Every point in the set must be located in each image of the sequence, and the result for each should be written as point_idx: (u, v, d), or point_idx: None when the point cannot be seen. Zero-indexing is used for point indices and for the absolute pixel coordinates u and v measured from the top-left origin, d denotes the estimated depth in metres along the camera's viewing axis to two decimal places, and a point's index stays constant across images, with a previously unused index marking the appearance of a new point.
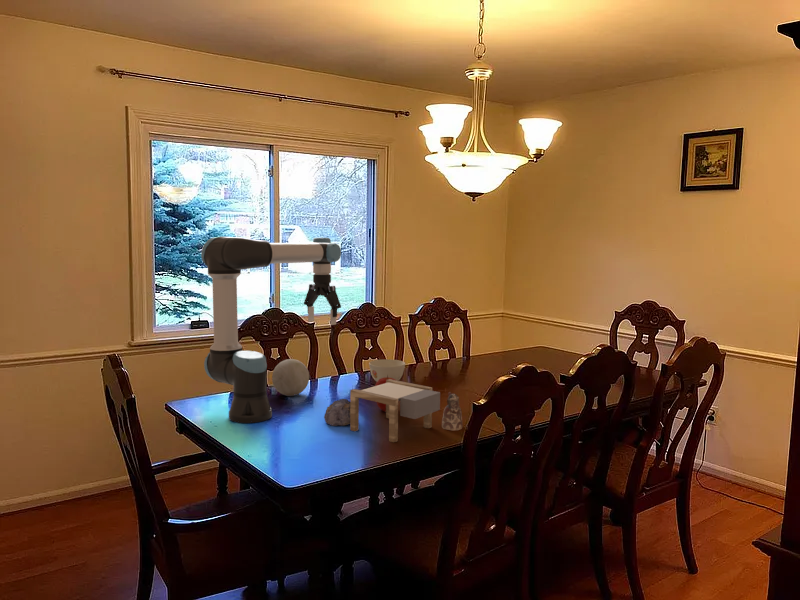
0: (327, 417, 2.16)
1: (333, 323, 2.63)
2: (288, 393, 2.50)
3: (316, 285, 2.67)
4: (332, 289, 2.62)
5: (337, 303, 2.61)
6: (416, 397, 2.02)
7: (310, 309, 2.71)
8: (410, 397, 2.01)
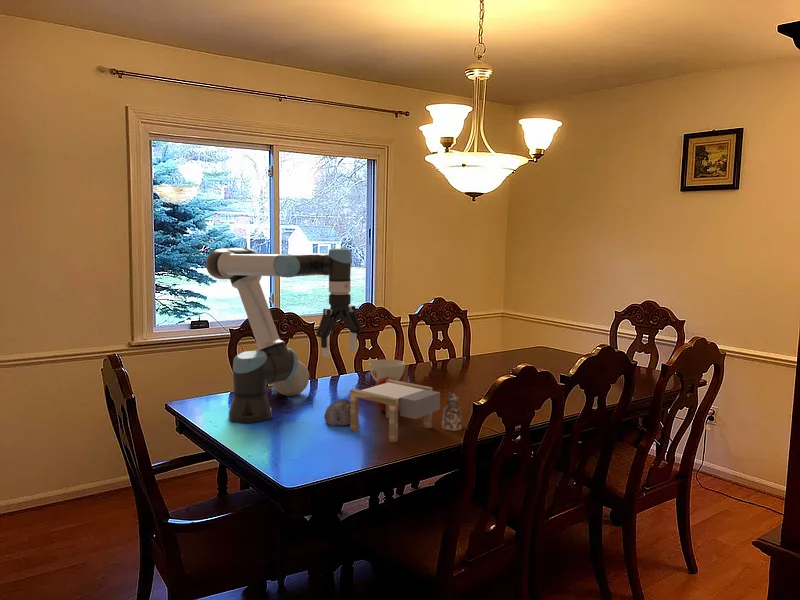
0: (327, 417, 2.16)
1: (324, 355, 2.11)
2: (288, 393, 2.50)
3: None
4: (324, 312, 2.10)
5: (319, 330, 2.09)
6: (416, 397, 2.02)
7: (350, 336, 2.22)
8: (410, 397, 2.01)
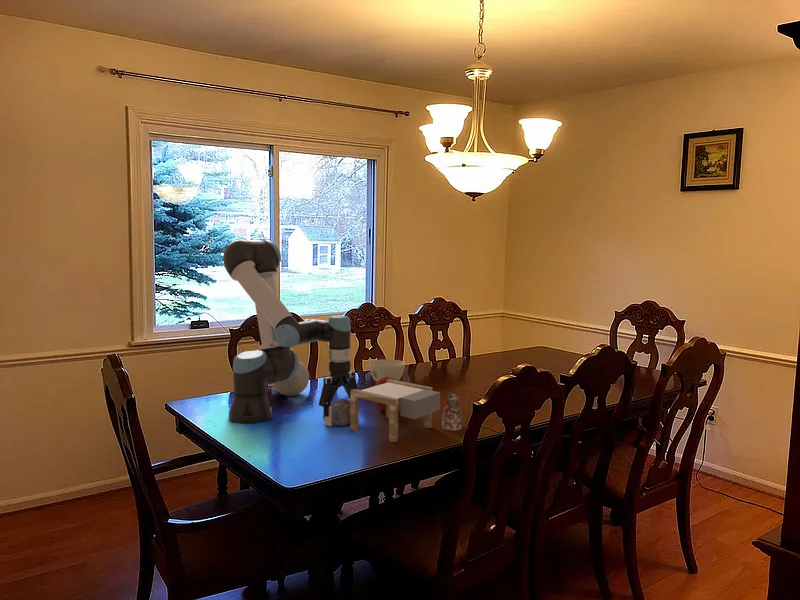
0: None
1: (326, 423, 2.15)
2: (288, 393, 2.50)
3: None
4: (324, 382, 2.13)
5: (321, 400, 2.12)
6: (416, 397, 2.02)
7: None
8: (410, 397, 2.01)
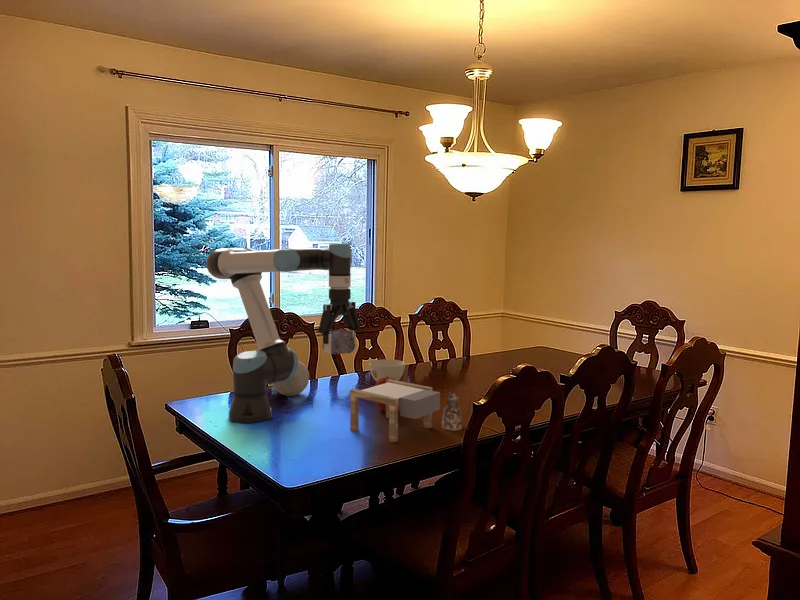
0: None
1: (326, 351, 2.12)
2: (288, 393, 2.50)
3: None
4: (324, 308, 2.10)
5: (321, 327, 2.09)
6: (416, 397, 2.02)
7: None
8: (410, 397, 2.01)
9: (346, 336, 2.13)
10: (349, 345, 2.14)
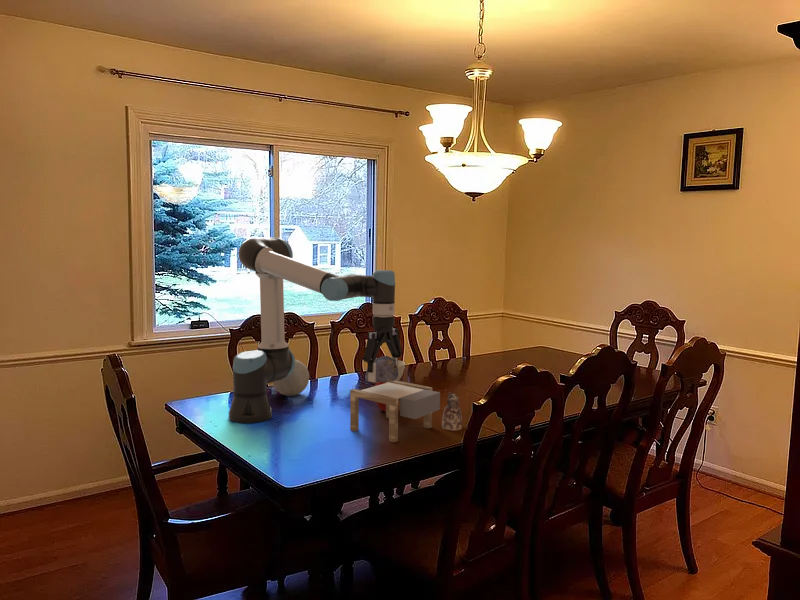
0: None
1: (370, 380, 2.10)
2: (288, 393, 2.50)
3: None
4: (368, 337, 2.08)
5: (365, 355, 2.07)
6: (416, 397, 2.02)
7: None
8: (410, 397, 2.01)
9: (390, 364, 2.11)
10: (393, 373, 2.12)
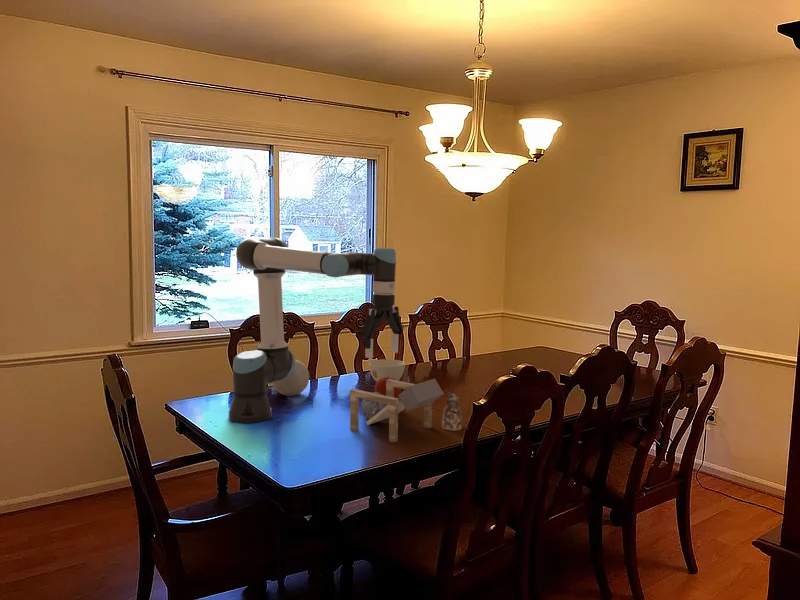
0: (365, 410, 2.16)
1: (367, 356, 2.08)
2: (288, 393, 2.50)
3: None
4: (368, 313, 2.07)
5: (363, 331, 2.05)
6: None
7: (392, 337, 2.19)
8: None
9: None
10: None
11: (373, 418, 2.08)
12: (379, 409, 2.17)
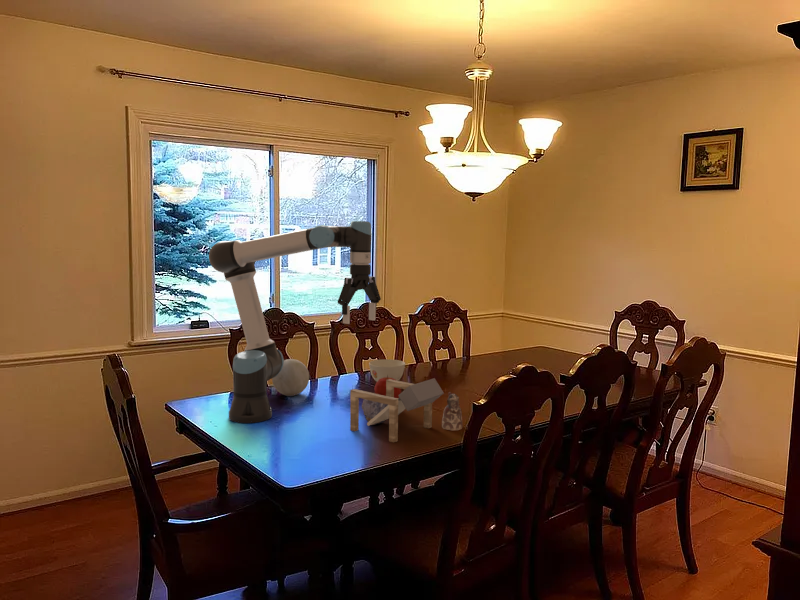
0: (366, 413, 2.15)
1: (344, 322, 2.23)
2: (288, 393, 2.50)
3: None
4: (345, 281, 2.21)
5: (340, 298, 2.20)
6: None
7: (370, 305, 2.33)
8: None
9: None
10: None
11: (373, 419, 2.08)
12: None
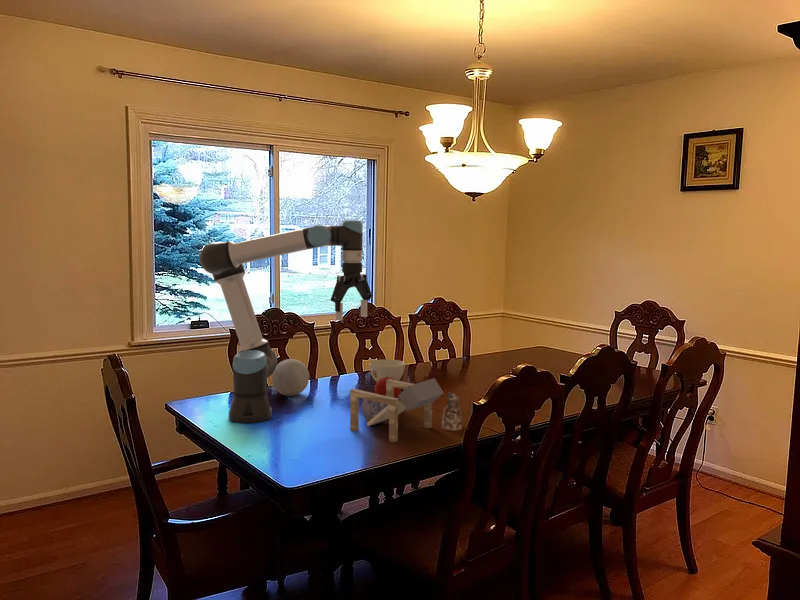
0: (366, 413, 2.15)
1: (338, 318, 2.28)
2: (288, 393, 2.50)
3: None
4: (338, 279, 2.27)
5: (333, 295, 2.25)
6: None
7: (361, 302, 2.39)
8: None
9: None
10: None
11: (373, 419, 2.08)
12: None
